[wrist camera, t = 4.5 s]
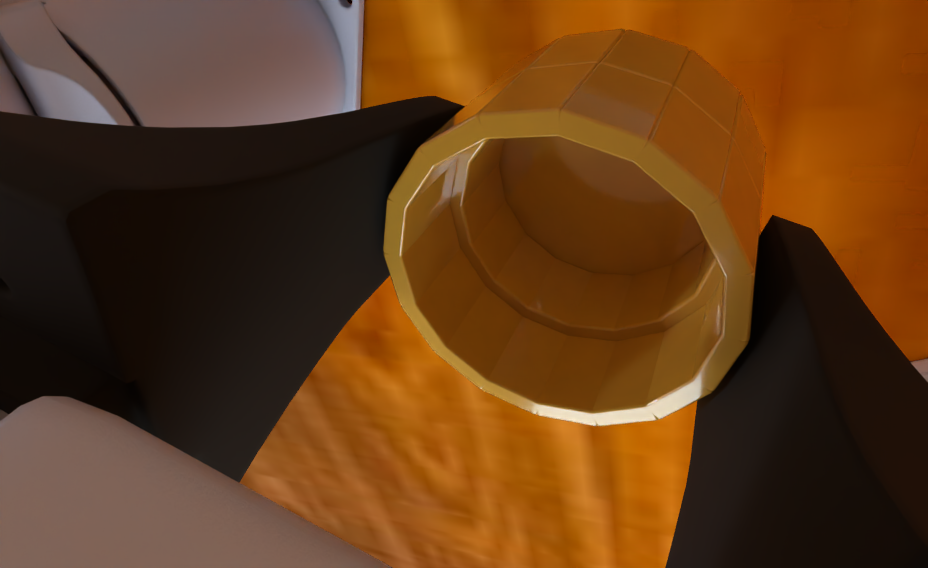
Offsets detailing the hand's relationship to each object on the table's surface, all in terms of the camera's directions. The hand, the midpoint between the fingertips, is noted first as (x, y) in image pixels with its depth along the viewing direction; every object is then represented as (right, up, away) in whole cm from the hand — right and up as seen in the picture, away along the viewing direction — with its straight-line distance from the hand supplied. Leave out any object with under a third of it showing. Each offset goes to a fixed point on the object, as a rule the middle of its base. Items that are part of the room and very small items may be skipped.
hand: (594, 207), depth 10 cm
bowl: (+1, +1, +1) cm, 2 cm away
